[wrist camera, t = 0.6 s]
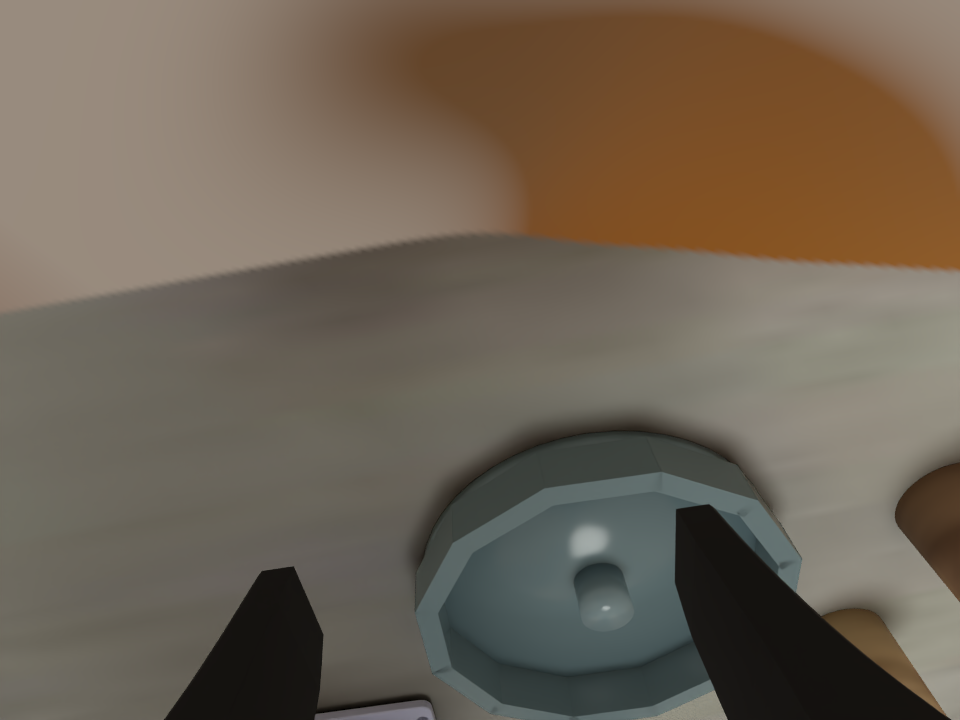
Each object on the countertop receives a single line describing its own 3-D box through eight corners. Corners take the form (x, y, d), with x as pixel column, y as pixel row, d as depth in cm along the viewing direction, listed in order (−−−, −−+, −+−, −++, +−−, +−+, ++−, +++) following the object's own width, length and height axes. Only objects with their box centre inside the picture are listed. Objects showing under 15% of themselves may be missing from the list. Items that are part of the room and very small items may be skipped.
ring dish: (752, 649, 30) (775, 700, 28) (450, 690, 30) (452, 744, 28) (788, 404, 23) (823, 448, 21) (389, 461, 23) (385, 510, 21)
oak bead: (874, 657, 31) (943, 767, 27) (790, 668, 31) (846, 780, 27) (891, 602, 29) (969, 713, 25) (800, 615, 29) (863, 727, 25)
